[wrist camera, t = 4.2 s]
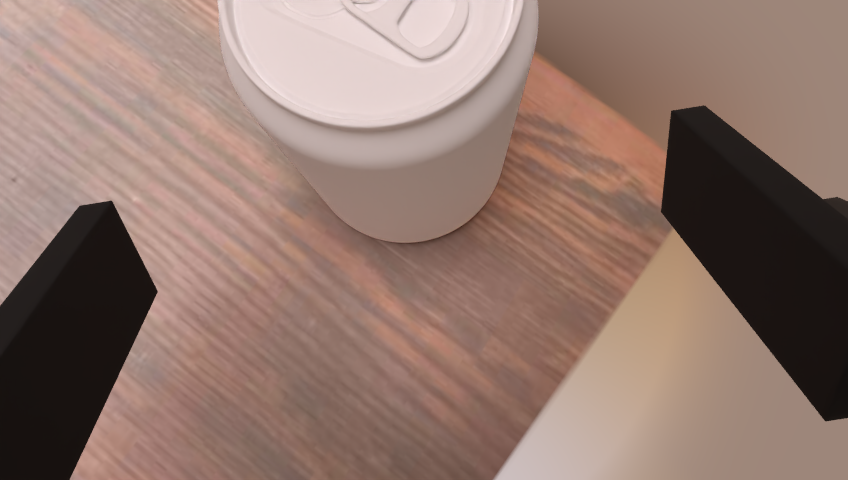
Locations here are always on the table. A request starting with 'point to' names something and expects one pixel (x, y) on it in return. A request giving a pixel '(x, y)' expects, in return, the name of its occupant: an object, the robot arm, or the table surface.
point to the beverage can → (386, 100)
